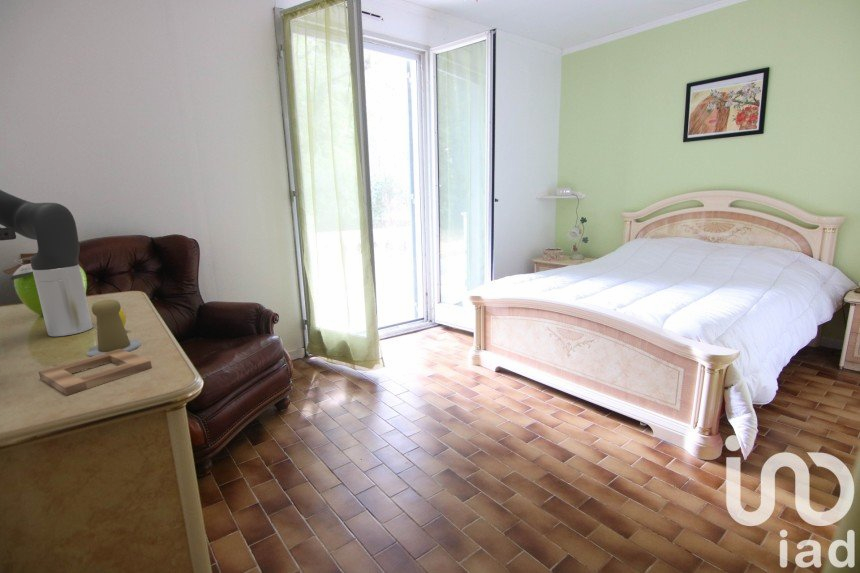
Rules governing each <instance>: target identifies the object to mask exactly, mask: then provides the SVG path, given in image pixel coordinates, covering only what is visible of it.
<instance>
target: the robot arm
mask: <svg viewBox="0 0 860 573" xmlns="http://www.w3.org/2000/svg"><path fill="white" fill-rule="evenodd" d="M0 225H1V226H3V227H0V241H10V240H11V241H12V240H16V239H17V235H16V234H19V235H20V236H22V237H24V238H27V239H30V240H35V241H36V242H37V243H36V244H37V252H36V254H35V255H33V256H32V257H31V258H30V265H31V270H32V273H33V279H34V282H35V286H36V291H37V294H38V299H39V303H40V308H41V310H42V315H43V316H42V317H43V319H44V324H45V327H46V328H45V329H46V331H47V335H48V336H49V337H65V336H70V335H71V336H72V335H75V334H80V333H83V332H87V331H88V330H91V329H92V328H93V323H92V318H91V314H90V309H89V308H90V307H89V304H88V299H87V295H86V290H85V286H84V280H83V275H82V272H81V269H80V268H81V267H80V264H79V263H80V262H79V255H80V252H81V251H80V250H81V249H80V248H81V247H80V241H79V236H78V229H77V223H76V220H75V218H74V216H73V214H72V212H71V211H70V210H69V209H68V207H66V206H65V205H62V204H61V203H56V202H31V201H28V200H26V199H23V198H19V197H18V196H16V195H13V194H10V193H8V192H5V191H3V190H2V189H0Z"/></svg>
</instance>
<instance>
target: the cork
mask: <svg viewBox="0 0 860 573" xmlns="http://www.w3.org/2000/svg"><path fill="white" fill-rule="evenodd" d="M120 309H122V306H121V303H120V302H119V301H118V300H117V299H103V300H99V301H95V302H94V303H92V306H91V311H92V312H91V313H92V314H93V315H94V316H95V317H96V330H97V333H96V334H97V345H98V351H99V352H110V351H114V350H117V349H124V348H126V347H128V346H130V341H129V339H130V338H129V336H128V334H127V331H126V329H125V326H124V325H123V323H122V320H121V317H120V315H119V312H120Z"/></svg>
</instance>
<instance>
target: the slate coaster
mask: <svg viewBox="0 0 860 573" xmlns="http://www.w3.org/2000/svg"><path fill="white" fill-rule="evenodd" d="M128 339H129V341H130V346H128V347H126V348H124V349H122V350H125V351H127V352H131V351H134V350H136V349H138V348H139V347H140V346H142V345H141V344H142V343H141V340H140V339H137V338H128ZM103 353H107V352H99V351H98V344H96V345H95V346H92V347H90V348H89V349H88V350H87V351H86V354H87V356H88V357H90V356H91V357H92V356H96V355H100V354H103Z"/></svg>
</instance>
